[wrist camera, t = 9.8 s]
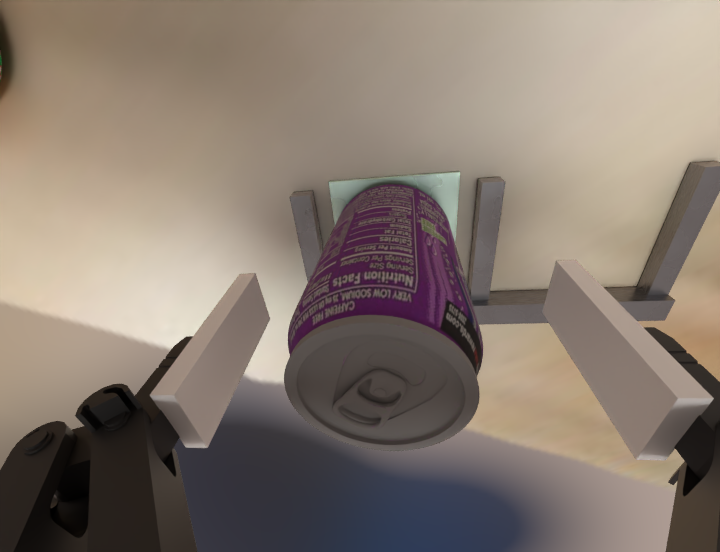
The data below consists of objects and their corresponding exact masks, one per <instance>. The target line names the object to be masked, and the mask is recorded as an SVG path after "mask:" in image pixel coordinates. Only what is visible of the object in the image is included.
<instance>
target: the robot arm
mask: <svg viewBox="0 0 720 552" xmlns="http://www.w3.org/2000/svg"><path fill="white" fill-rule="evenodd" d="M542 313H543V314H544V316H545V317H546V319H547V321H548V322H549V324H550V325H551V327H552V328H553V330H554V332H555V333H556V335H557V336H558V338H559V339H560V341H561V343H562V344H563V346H564V347H565V349H566V350H567V352H568V354H569V355H570V357H571V358H572V360H573V361H574V363H575V365H576V366H577V368H578V369H579V371H580V372H581V374H582V376H583V377H584V379H585V380H586V382H587V383H588V385H589V387H590V388H591V390H592V391H593V393H594V394H595V396H596V398H597V399H598V401H599V402H600V404H601V405H602V407H603V409H604V410H605V412H606V413H607V415H608V416H609V418H610V420H611V421H612V423H613V424H614V426H615V427H616V429H617V431H618V432H619V434H620V435H621V437H622V438H623V440H624V442H625V443H626V445H627V446H628V448H629V449H630V451H631V453H632V454H633V456H634V457H635V459H636V460H666V459H667V458H668V457H669V455H670V454H671V453H672V451H673V450H674V449H676V450H677V451H678V453H679V454H680V455H681V457H682V458H683V459H684V461H685V462H684V463H683V464H682V465H681V466H680V467H679V469H678V470H677V471H676V472H675V473H674V475H673V476H672V477H671V478H670V480H669V482H668V483H670V484H672V485H674V484H675V483H676V482H677V480H678V482H677V488H676V494H675V500H674V506H673V512H672V518H671V525H670V530H669V536H668V541H667V548H666V552H720V382H719V381H718V380H717V379H716V378H715V377H714V376H713V375H711V374H710V373H709V372H708V371H707V370H706V369H705V368H704V367H703V366H702V365H701V364H698V363H697V362H698V361H697V360H696V359H694V358H693V357H692V356H691V355H690V354H689V353H686V350H685V349H684V348H683V347H682V346H681V345H680V344H678V343H677V342H676V341H675V340H674V339H673V338H672V337H670V336H668V335H666V334H665V333H663V332H661V331H660V330H658V329H656V328H655V327H646V328H643V327H642V326H641V325H640V324H639V323H638V322H637V321H636V320H635V319H634V318H633V317H632V316H631V315H630V314H629V313H628V312H627V311H626V310H625V309H624V308H623V307H622V306H621V305H620V304H619V303H618V302H617V301H616V300H615V299H614V298H613V297H612V296H611V294H610V293H609V292H608V291H607V290H606V289H605V288H604V287H603V286H602V285H601V284H600V283H599V282H598V281H597V280H596V279H595V278H594V277H593V276H592V275H591V274H590V273H589V272H588V271H587V270H586V269H585V268H584V267H583V266H582V265H581V264H580V263H579V262H578V261H577V260H558V261H556V263H555V267H554V271H553V274H552V278H551V282H550V285H549V289H548V293H547V297H546V300H545V304H544V308H543V311H542ZM269 320H270V317H269V314H268V311H267V308H266V305H265V302H264V298H263V295H262V292H261V289H260V286H259V283H258V280H257V277H256V274H255V273H249V274H239V276H238V277H237V278H236V280H235V281H234V282H233V284H232V285H231V286H230V288H229V289H228V290H227V292H226V293H225V294H224V296H223V297H222V298H221V300H220V301H219V302H218V304H217V305H216V307H215V308H214V309H213V311H212V312H211V313H210V315H209V316H208V317H207V319H206V320H205V321H204V323H203V324H202V325H201V327H200V328H199V329H198V331H197V332H196V333H195V335H194V336H191V337H185V338H184V339H183V340H181V341H180V342H179V343H178V344H176V345H175V346H174V347H173V348H172V350H171V351H170V352H169V353H168V355H167V356H166V359H164V360H163V361H162V362H161V364H160V365H159V368H157V369H156V370H155V371H154V372H153V374H152V375H151V376H150V378H149V379H148V380H147V382H146V383H145V384H144V385H143V386H142V388H141V389H140V390H139V392H138V393H137V394H136V395H135V396H134V394H133V393H132V392H131V390H130V389H129V388H128V386H127V385H124V384H113V385H110V386H107V387H104V388H102V389H100V390H98V391H97V392H95V393H93V394H92V395H91V396H89V397H88V398H87V399H86V400H85V401H84V402H83V403H82V404H81V405H80V407H79V408H78V410H77V412H76V415H75V416H76V417H77V418H78V419H79V420H80V422H82V424H83V425H84V426H83V427H80V428H76V429H73V430H71V429H70V428H69V427H68V426H67V425H66V424H65V423H64V422H60V421H55V422H50V423H47V424H45V425H42V426H40V427H38V428H36V429H35V430H33V431H32V432H30V433H29V434H27V435H26V436H25V437H24V438H23V439H21V440H20V441H19V442H18V443H17V444H16V446H15V447H14V448H13V449H12V451H11V452H10V454H9V456H8V457H7V460H6V461H5V463H4V465H3V466H2V468H1V470H0V552H197V547H196V542H195V538H194V533H193V528H192V524H191V519H190V514H189V509H188V505H187V500H186V495H185V490H184V486H183V481H182V476H181V472H180V467H179V462H178V457H177V453H176V451H175V450H174V446H175V444H176V442H177V440H178V439H179V438H180V439H181V441H182V442H183V444H184V445H185V446H186V447H188V448H207V447H208V446H209V443H210V441H211V439H212V437H213V435H214V433H215V431H216V429H217V427H218V425H219V423H220V421H221V419H222V417H223V415H224V413H225V411H226V409H227V407H228V404H229V402H230V400H231V398H232V396H233V394H234V392H235V390H236V388H237V386H238V384H239V382H240V380H241V378H242V376H243V374H244V372H245V369H246V367H247V365H248V363H249V361H250V359H251V357H252V355H253V353H254V351H255V349H256V347H257V345H258V343H259V341H260V339H261V337H262V334H263V332H264V330H265V328H266V326H267V324H268V322H269Z"/></svg>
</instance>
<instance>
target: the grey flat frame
mask: <svg viewBox="0 0 720 552" xmlns="http://www.w3.org/2000/svg"><path fill="white" fill-rule="evenodd" d="M328 183H329V190H330V196H331V203H332V210H333V217H334V224H335V225H336V223H337V220H338V218H339V216H340V214H341V212H342V211H343V209H344V208H345V206H346V205H347V204H348V203H349V202H350V201H351V200H352V199H353V198H354V197H356V196H357V195H358V194H360V193H362V192H364V191H366V190H368V189H370V188H373V187H376V186H381V185H388V184H398V185H405V186H409V187H413V188H416V189H418V190H420V191H422V192H424V193H426V194H427V195H429V196H430V197H431V198H433V199H434V200H435V201H436V202H437V203H438V204H439V205H440V207H441V208H442V209H443V211H444V212H445V214H446V216H447V218H448V221H449V224H450V227H451V231H452V234H453V238H454V241H455V243H456V228H457V213H458V198H459V183H460V171H454V172H441V173H428V174H415V175H402V176H389V177H376V178H363V179H350V180H337V181H329V182H328ZM504 188H505V181H504V180H503V179H502V178H501V177H491V178H478V186H477V196H476V207H475V217H474V227H473V238H472V248H471V258H470V268H469V279H468V290H469V293H470V297H471V300H472V304H473V307H474V311H475V314H476V318H477V321H478V324H520V323H549V322H548V321H547V319H546V317H545V316H544V314H543V313H542V311H543V308H544V304H545V300H546V297H547V293H548V290H525V291H494V292H490V286H491V279H492V272H493V265H494V258H495V251H496V244H497V237H498V230H499V223H500V216H501V209H502V202H503V195H504ZM719 192H720V162H717V161H708V162H695V163H690V165H689V167H688V169H687V172H686V174H685V176H684V179H683V181H682V183H681V186H680V188H679V190H678V193H677V195H676V197H675V200H674V202H673V204H672V207H671V209H670V211H669V214H668V216H667V218H666V220H665V223H664V225H663V227H662V230H661V232H660V234H659V237H658V239H657V241H656V244H655V246H654V248H653V251H652V253H651V255H650V258H649V260H648V262H647V265H646V267H645V269H644V272H643V274H642V276H641V279H640V281H639V283H638V286H637V287H615V288H605V289H606V290H607V291H608V292H609V293H610V294H611V296H612V297H613V298H614V299H615V300H616V301H617V302H618V303H619V304H620V305H621V306H622V307H623V308H624V309H625V310H626V311H627V312H628V313H629V314H630V315H631V316H632V317H633V318H634V319H635V320H636V321H658V320H665V319H666V317H667V315H668V313H669V311H670V309H671V308H672V306H673V304H674V302H675V300H674V299H673V298H672V297H670V296H669V295H668V294H669V292H670V290H671V288H672V286H673V284H674V282H675V280H676V278H677V276H678V274H679V272H680V270H681V268H682V266H683V264H684V262H685V260H686V258H687V256H688V254H689V252H690V250H691V248H692V246H693V244H694V242H695V240H696V238H697V236H698V234H699V232H700V230H701V228H702V226H703V224H704V222H705V220H706V218H707V216H708V214H709V212H710V210H711V208H712V206H713V204H714V202H715V200H716V198H717V196H718V194H719ZM290 201H291V206H292V210H293V215H294V220H295V224H296V229H297V234H298V238H299V243H300V248H301V252H302V257H303V262H304V266H305V271H306V275H307V280H308V282H309V280H310V278H311V276H312V274H313V271H314V269H315V267H316V265H317V263H318V261H319V259H320V257H321V254H322V252H323V246H322V240H321V234H320V229H319V223H318V217H317V211H316V206H315V200H314V194H313V191H301V192H294V193H293V194H292V195H291V196H290Z"/></svg>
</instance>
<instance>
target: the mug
mask: <svg viewBox="0 0 720 552" xmlns="http://www.w3.org/2000/svg"><path fill="white" fill-rule="evenodd" d="M1 74H2V59H1V52H0V80H1Z"/></svg>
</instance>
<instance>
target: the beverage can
mask: <svg viewBox="0 0 720 552" xmlns="http://www.w3.org/2000/svg"><path fill="white" fill-rule="evenodd" d="M288 348H289V353H290V358H289V360H288V363H287V365H286V369H285V374H284V383H285V389H286V392H287V395H288V398H289V400H290V401H291V403H292V405H293V406H294V408H295V409H296V411H297V412H298V413H299V414H300V415H301V416H302V417H303V418H304V419H305V420H306V421H307V422H308V423H309V424H311V425H312V426H313V427H315V428H316V429H318V430H320V431H321V432H323V433H324V434H326V435H328V436H330V437H332V438H334V439H337V440H340V441H342V442H345V443H348V444H351V445H354V446H358V447H362V448H367V449H374V450H383V451H404V450H413V449H419V448H424V447H428V446H432V445H434V444H437V443H440V442H442V441H445V440H447V439H448V438H450V437H452V436H454V435H455V434H457V433H458V432H459V431H461V430H462V429H463V428H464V427H465V426H466V425H467V424H468V423H469V422H470V420H471V419H472V418H473V416H474V414H475V412H476V410H477V407H478V403H479V386H478V382H477V375H478V372H479V370H480V367H481V363H482V357H483V342H482V336H481V332H480V328H479V325H478V321H477V318H476V314H475V311H474V307H473V304H472V300H471V297H470V293H469V290H468V286H467V283H466V280H465V276H464V273H463V269H462V266H461V262H460V259H459V255H458V252H457V248H456V245H455V241H454V238H453V234H452V231H451V227H450V224H449V221H448V218H447V216H446V214H445V212H444V211H443V209H442V208H441V207H440V205H439V204H438V203H437V202H436V201H435V200H434V199H433V198H431V197H430V196H429V195H427V194H426V193H424V192H422V191H420V190H418V189H416V188H413V187H409V186H405V185H398V184H388V185H381V186H376V187H373V188H370V189H368V190H366V191H364V192H362V193H360V194H358V195H357V196H356V197H354V198H353V199H352V200H351V201H350V202H349V203H348V204H347V205H346V206H345V208H344V209H343V211H342V212H341V214H340V216H339V218H338V220H337V223H336V225H335V227H334V229H333V231H332V233H331V235H330V237H329V240H328V242H327V244H326V246H325V248H324V250H323V252H322V254H321V257H320V259H319V261H318V263H317V265H316V267H315V269H314V271H313V274H312V276H311V278H310V280H309V282H308V284H307V286H306V288H305V291H304V293H303V295H302V297H301V299H300V301H299V303H298V305H297V308H296V310H295V312H294V315H293V317H292V319H291V322H290V326H289V332H288Z"/></svg>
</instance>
